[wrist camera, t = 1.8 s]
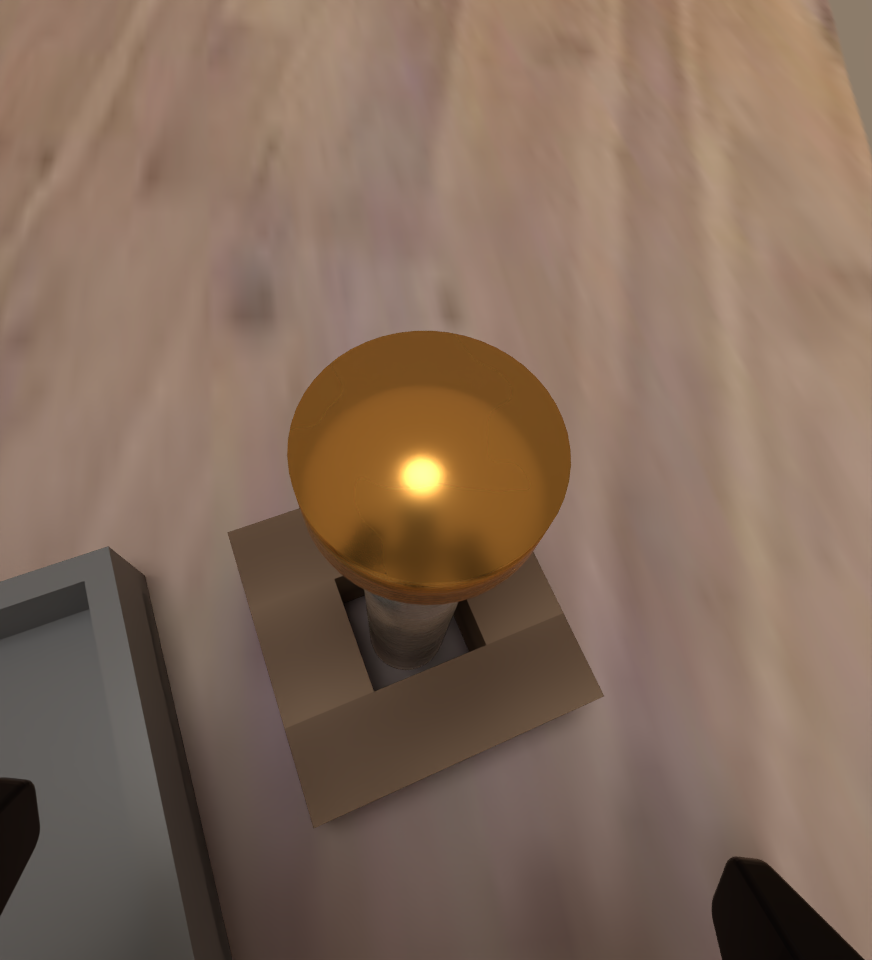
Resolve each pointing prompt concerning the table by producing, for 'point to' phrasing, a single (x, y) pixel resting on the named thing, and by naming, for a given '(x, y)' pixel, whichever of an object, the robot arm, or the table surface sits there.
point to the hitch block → (412, 701)
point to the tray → (100, 774)
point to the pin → (426, 477)
